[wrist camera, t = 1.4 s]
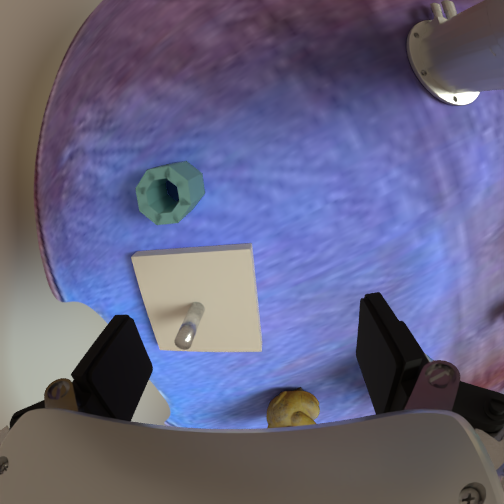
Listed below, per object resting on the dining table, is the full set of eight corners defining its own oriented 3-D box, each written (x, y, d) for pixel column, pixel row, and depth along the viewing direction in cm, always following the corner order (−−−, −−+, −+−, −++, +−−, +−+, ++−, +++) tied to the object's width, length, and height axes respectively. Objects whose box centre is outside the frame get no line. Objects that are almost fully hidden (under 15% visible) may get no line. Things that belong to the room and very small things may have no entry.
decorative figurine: (283, 415, 49) (282, 480, 35) (255, 397, 47) (248, 467, 33) (324, 396, 46) (332, 465, 32) (297, 375, 44) (301, 451, 30)
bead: (154, 166, 32) (132, 172, 27) (200, 159, 32) (185, 163, 26) (162, 212, 35) (142, 226, 29) (207, 207, 34) (193, 221, 28)
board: (137, 251, 37) (103, 283, 28) (251, 243, 35) (244, 278, 27) (164, 342, 43) (144, 383, 34) (262, 342, 41) (258, 389, 32)
